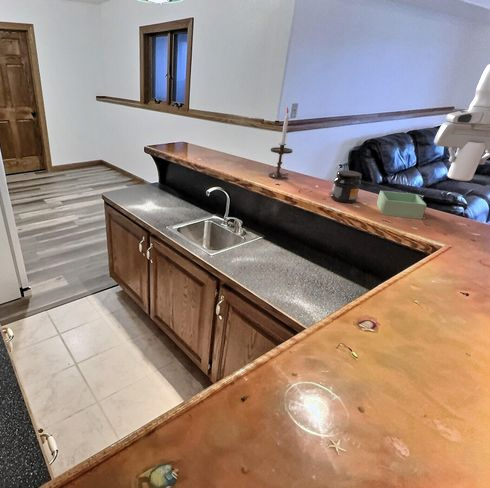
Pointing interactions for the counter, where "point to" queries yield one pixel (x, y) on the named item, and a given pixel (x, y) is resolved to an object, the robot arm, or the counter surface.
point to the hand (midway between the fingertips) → (465, 162)
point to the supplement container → (346, 186)
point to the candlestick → (281, 150)
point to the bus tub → (401, 204)
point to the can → (466, 161)
